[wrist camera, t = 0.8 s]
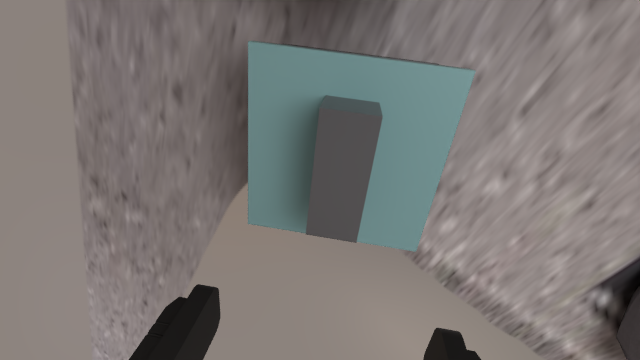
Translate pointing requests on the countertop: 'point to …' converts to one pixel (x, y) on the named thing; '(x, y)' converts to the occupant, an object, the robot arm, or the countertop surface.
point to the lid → (348, 141)
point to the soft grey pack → (631, 328)
